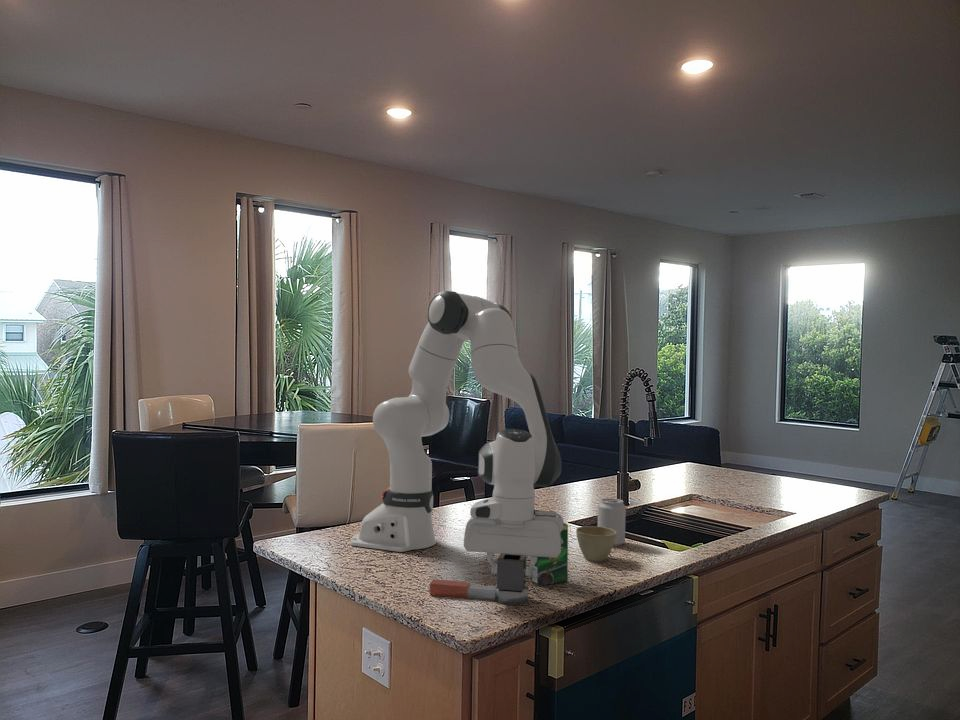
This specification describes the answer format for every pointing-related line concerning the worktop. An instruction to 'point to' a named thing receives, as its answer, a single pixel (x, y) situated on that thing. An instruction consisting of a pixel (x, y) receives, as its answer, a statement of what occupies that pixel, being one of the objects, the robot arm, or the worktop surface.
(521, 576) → the grey slotted block
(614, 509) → the can
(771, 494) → the worktop surface
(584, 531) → the olive beige bowl
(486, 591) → the ratchet
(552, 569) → the coffee box
